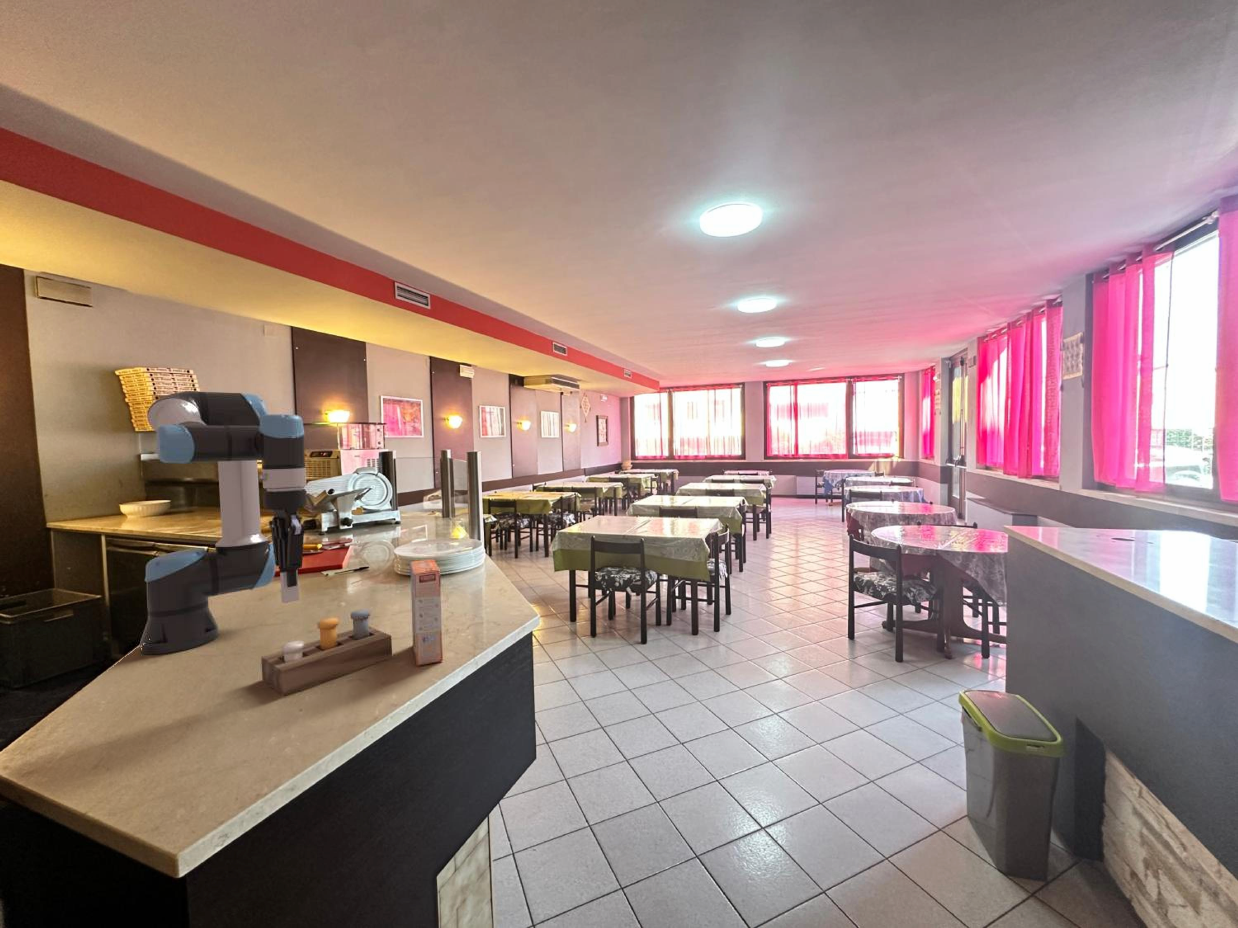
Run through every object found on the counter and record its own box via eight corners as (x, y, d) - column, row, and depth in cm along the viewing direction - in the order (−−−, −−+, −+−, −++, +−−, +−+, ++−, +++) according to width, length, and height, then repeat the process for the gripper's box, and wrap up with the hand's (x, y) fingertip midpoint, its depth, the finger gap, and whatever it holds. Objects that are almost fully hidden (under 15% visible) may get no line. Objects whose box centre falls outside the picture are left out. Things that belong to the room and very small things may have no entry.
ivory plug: (280, 678, 104) (278, 645, 104) (301, 671, 108) (299, 639, 107) (287, 683, 102) (285, 649, 102) (308, 676, 105) (307, 643, 105)
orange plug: (315, 653, 110) (314, 621, 110) (335, 647, 113) (333, 616, 113) (323, 657, 107) (322, 625, 107) (343, 651, 111) (341, 620, 110)
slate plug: (348, 642, 115) (347, 613, 115) (366, 637, 119) (365, 608, 118) (356, 646, 113) (355, 616, 113) (374, 641, 116) (373, 611, 116)
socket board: (262, 679, 105) (261, 656, 105) (367, 645, 123) (366, 625, 123) (283, 695, 98) (282, 670, 98) (392, 656, 115) (391, 635, 115)
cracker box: (444, 661, 112) (441, 569, 111) (415, 667, 109) (412, 573, 109) (438, 640, 125) (435, 557, 124) (412, 645, 122) (408, 560, 121)
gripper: (252, 489, 104) (258, 600, 106) (275, 492, 96) (281, 612, 98) (293, 486, 110) (298, 591, 111) (317, 488, 102) (322, 601, 103)
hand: (290, 600), depth 104 cm, fingers closed
